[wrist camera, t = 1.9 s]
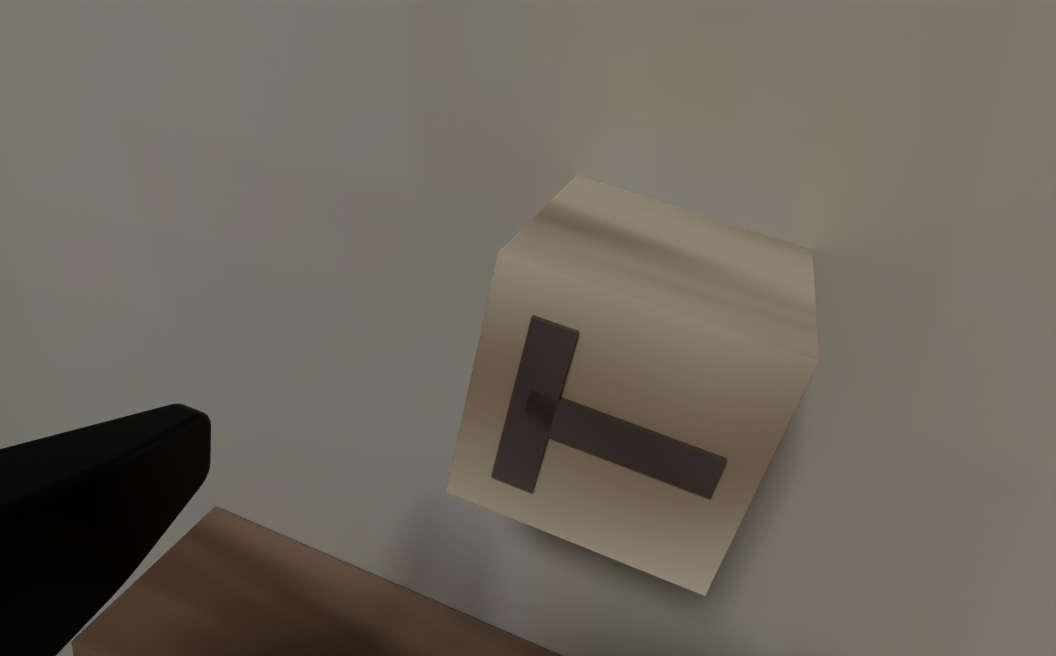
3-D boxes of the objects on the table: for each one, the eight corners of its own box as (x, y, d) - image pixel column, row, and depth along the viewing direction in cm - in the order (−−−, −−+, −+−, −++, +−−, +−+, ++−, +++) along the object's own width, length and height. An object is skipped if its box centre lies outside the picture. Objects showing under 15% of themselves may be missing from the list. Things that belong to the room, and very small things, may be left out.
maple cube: (726, 441, 16) (705, 601, 12) (527, 368, 17) (443, 495, 13) (811, 248, 14) (819, 364, 10) (577, 174, 14) (495, 254, 10)
